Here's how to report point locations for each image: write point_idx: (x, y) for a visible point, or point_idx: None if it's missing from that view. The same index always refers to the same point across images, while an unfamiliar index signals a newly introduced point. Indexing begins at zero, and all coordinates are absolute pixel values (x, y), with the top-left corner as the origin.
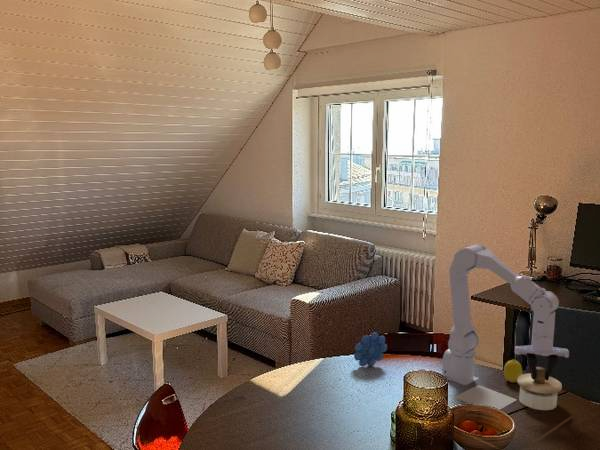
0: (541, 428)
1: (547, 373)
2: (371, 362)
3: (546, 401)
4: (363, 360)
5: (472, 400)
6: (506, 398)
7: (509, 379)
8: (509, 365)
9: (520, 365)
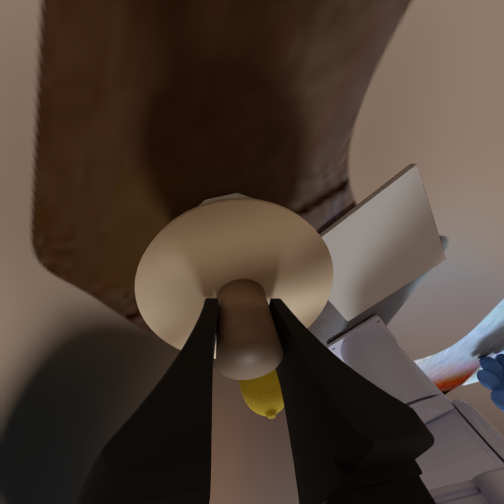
0: (302, 40)
1: (214, 325)
2: (498, 362)
3: None
4: None
5: (416, 244)
6: None
7: None
8: None
9: (250, 396)
